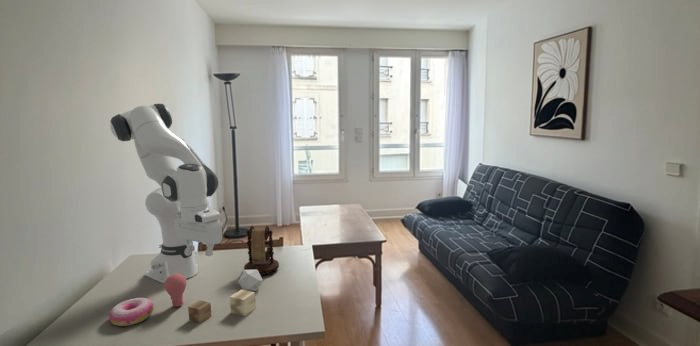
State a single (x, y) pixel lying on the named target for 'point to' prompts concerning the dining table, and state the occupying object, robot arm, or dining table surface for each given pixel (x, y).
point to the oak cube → (242, 302)
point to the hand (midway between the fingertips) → (200, 253)
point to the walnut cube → (199, 311)
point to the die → (250, 280)
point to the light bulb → (176, 288)
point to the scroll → (260, 251)
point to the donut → (131, 311)
